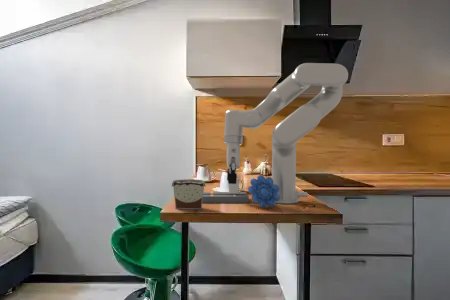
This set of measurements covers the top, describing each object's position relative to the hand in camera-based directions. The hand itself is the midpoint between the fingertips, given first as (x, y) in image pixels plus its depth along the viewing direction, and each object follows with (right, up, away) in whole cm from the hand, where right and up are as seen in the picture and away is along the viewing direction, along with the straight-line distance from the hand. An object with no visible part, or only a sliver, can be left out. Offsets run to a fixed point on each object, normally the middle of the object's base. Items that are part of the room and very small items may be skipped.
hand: (231, 182), depth 145 cm
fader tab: (+1, -6, 0) cm, 6 cm away
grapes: (+12, -8, -16) cm, 22 cm away
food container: (-16, -8, -16) cm, 23 cm away
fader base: (-3, -8, 0) cm, 8 cm away
